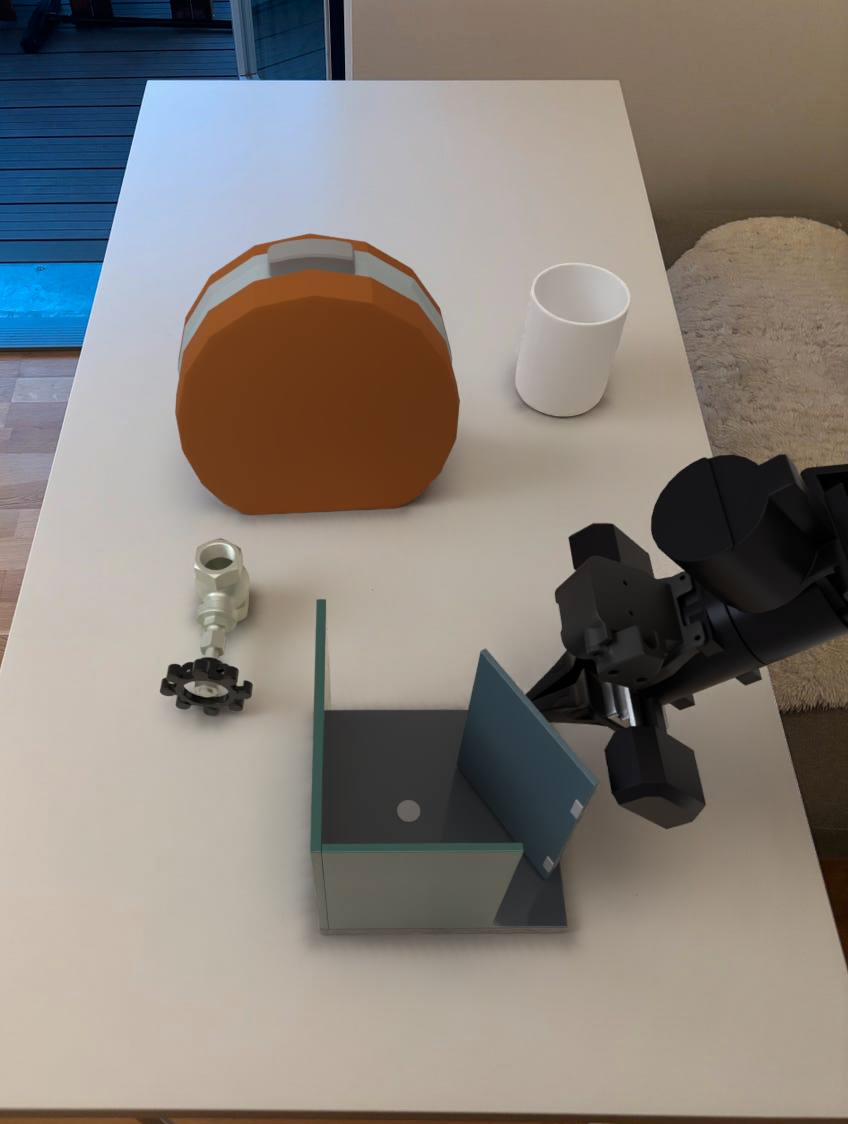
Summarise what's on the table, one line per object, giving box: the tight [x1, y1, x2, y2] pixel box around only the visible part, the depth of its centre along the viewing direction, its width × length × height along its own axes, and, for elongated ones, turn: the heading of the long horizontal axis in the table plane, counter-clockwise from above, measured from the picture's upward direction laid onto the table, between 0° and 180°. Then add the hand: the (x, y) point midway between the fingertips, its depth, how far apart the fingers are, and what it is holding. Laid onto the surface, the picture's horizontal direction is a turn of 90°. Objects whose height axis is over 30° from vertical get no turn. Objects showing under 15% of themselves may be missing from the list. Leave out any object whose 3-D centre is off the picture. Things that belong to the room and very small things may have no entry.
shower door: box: [456, 648, 601, 880], centre depth 56 cm, size 2×10×15 cm, turn 33°
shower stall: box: [309, 598, 569, 935], centre depth 58 cm, size 16×16×15 cm
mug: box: [514, 262, 632, 418], centre depth 84 cm, size 9×12×11 cm
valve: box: [159, 537, 254, 717], centre depth 69 cm, size 7×7×12 cm
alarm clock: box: [174, 233, 461, 516], centre depth 72 cm, size 22×10×23 cm, turn 94°
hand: (518, 714), depth 60 cm, fingers closed
